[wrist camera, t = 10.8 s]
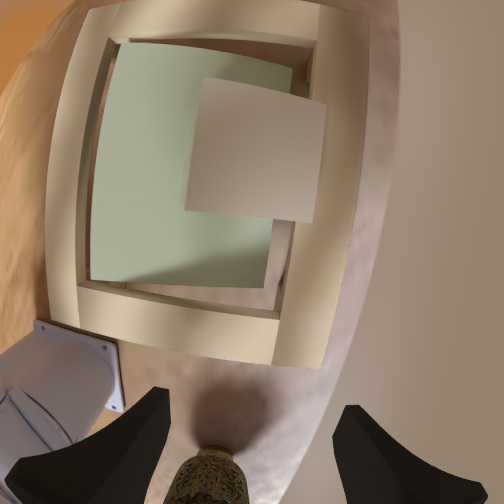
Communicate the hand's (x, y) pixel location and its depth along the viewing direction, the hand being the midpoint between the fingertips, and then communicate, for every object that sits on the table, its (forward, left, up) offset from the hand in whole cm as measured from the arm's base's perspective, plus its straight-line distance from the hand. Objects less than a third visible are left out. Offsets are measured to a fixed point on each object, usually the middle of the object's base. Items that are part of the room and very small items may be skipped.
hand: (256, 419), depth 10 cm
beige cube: (-2, +10, -5) cm, 12 cm away
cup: (-2, -16, -11) cm, 20 cm away
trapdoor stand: (-4, +10, -10) cm, 15 cm away
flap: (-6, +10, -8) cm, 14 cm away
